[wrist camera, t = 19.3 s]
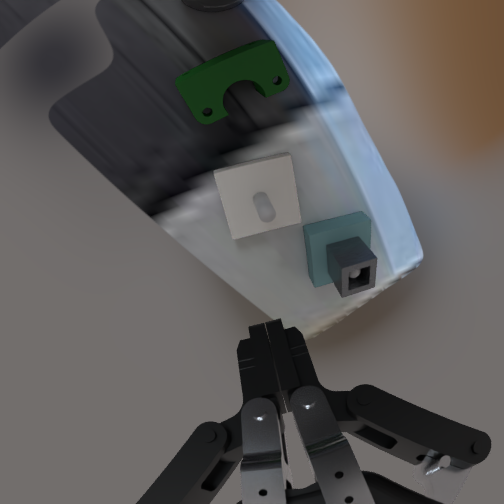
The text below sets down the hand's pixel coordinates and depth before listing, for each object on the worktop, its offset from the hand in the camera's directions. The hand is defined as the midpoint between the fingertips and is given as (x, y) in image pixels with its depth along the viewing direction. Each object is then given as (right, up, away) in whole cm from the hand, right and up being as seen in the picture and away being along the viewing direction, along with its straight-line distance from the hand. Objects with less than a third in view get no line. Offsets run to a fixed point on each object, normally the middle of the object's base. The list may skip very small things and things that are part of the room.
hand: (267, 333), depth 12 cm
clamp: (-3, +25, +16) cm, 30 cm away
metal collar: (+13, +3, +29) cm, 32 cm away
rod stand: (0, +11, +25) cm, 28 cm away
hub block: (+13, +5, +31) cm, 34 cm away
